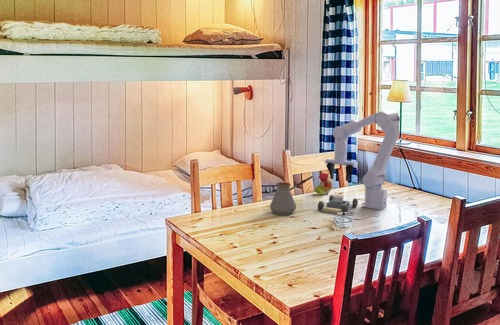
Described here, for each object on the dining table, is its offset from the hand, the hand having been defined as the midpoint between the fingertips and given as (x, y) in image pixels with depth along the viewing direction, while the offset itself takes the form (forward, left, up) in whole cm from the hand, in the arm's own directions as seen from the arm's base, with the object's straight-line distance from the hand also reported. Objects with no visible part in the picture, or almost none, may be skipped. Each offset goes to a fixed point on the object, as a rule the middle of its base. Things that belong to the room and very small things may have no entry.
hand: (339, 179), depth 242 cm
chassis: (-6, +17, -9) cm, 20 cm away
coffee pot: (+9, +32, -10) cm, 34 cm away
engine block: (-6, +17, -9) cm, 20 cm away
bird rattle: (+10, -5, -10) cm, 15 cm away
